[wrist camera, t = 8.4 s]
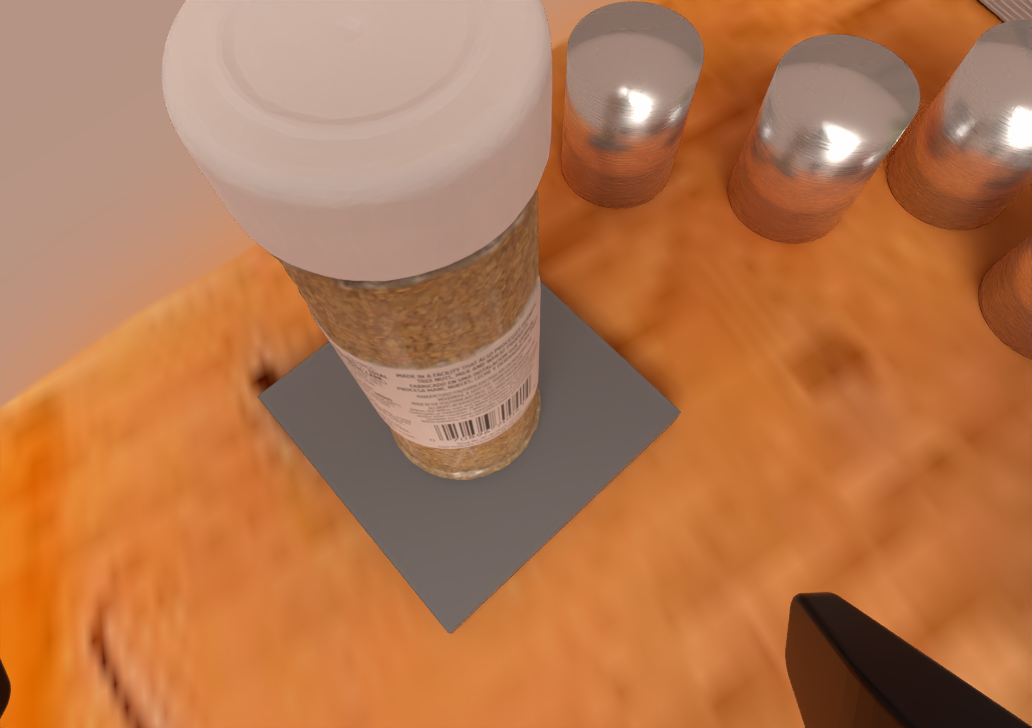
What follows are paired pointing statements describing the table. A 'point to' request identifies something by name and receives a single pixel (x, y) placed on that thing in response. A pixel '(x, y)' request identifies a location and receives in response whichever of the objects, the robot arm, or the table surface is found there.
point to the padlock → (1010, 9)
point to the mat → (484, 500)
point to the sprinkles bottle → (389, 193)
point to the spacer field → (813, 134)
